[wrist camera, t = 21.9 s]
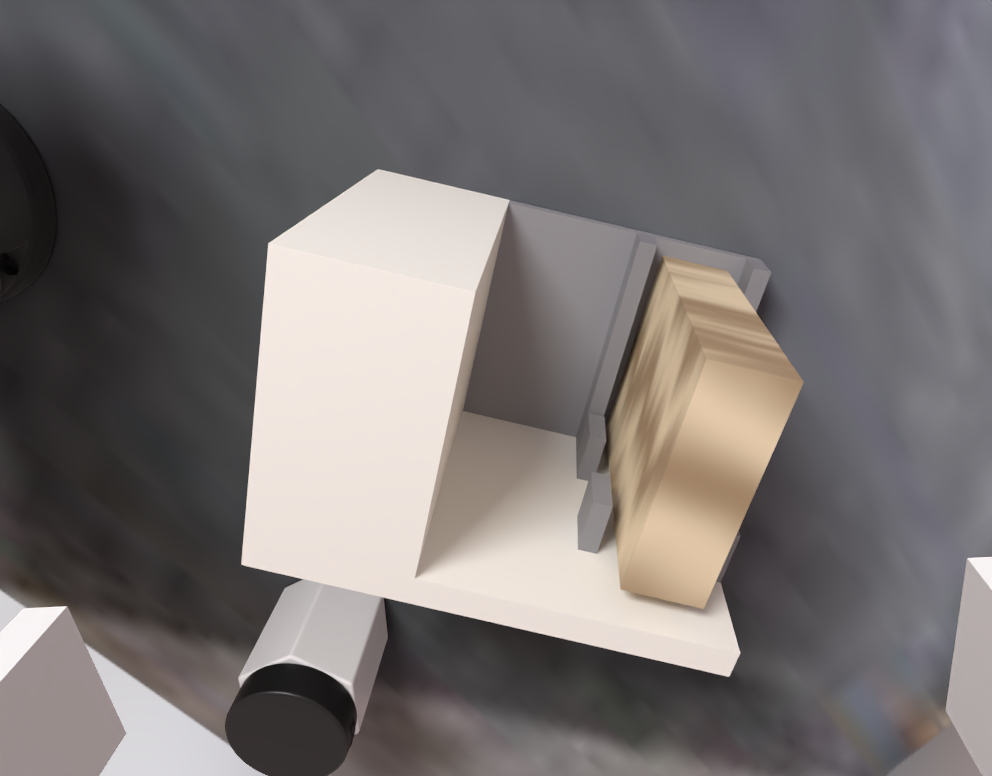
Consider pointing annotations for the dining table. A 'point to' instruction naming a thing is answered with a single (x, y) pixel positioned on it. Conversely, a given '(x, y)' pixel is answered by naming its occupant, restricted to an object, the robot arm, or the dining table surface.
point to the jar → (308, 680)
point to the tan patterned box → (692, 430)
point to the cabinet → (462, 412)
